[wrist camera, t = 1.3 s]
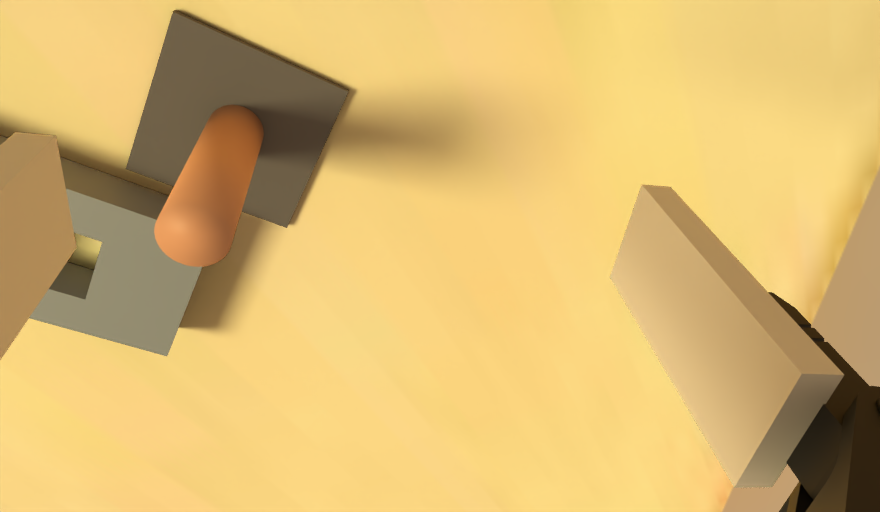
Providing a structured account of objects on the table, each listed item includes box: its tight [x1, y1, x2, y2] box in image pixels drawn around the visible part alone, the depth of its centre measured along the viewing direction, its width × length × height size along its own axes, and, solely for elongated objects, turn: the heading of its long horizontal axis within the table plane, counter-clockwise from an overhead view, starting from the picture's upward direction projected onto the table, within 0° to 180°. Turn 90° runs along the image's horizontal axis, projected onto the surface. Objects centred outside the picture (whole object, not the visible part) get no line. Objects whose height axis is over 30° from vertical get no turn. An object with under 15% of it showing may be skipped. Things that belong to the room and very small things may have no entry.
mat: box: [126, 10, 349, 228], centre depth 38 cm, size 10×10×1 cm
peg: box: [154, 105, 264, 267], centre depth 33 cm, size 3×3×12 cm
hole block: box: [0, 135, 202, 356], centre depth 39 cm, size 16×10×3 cm, turn 62°
